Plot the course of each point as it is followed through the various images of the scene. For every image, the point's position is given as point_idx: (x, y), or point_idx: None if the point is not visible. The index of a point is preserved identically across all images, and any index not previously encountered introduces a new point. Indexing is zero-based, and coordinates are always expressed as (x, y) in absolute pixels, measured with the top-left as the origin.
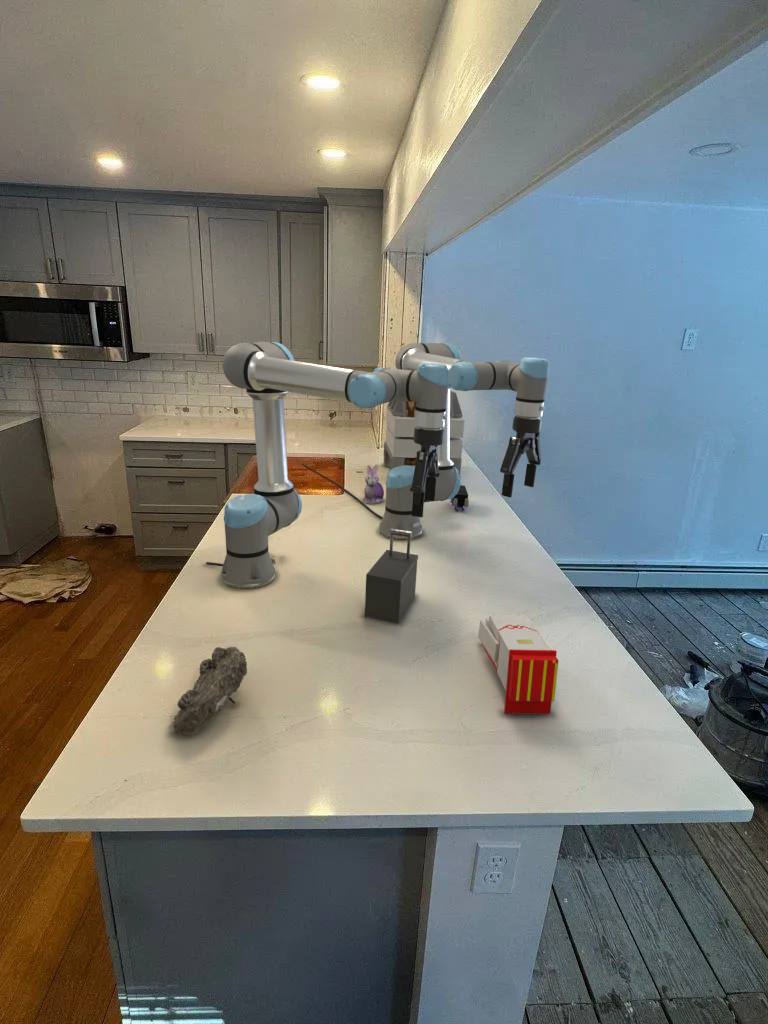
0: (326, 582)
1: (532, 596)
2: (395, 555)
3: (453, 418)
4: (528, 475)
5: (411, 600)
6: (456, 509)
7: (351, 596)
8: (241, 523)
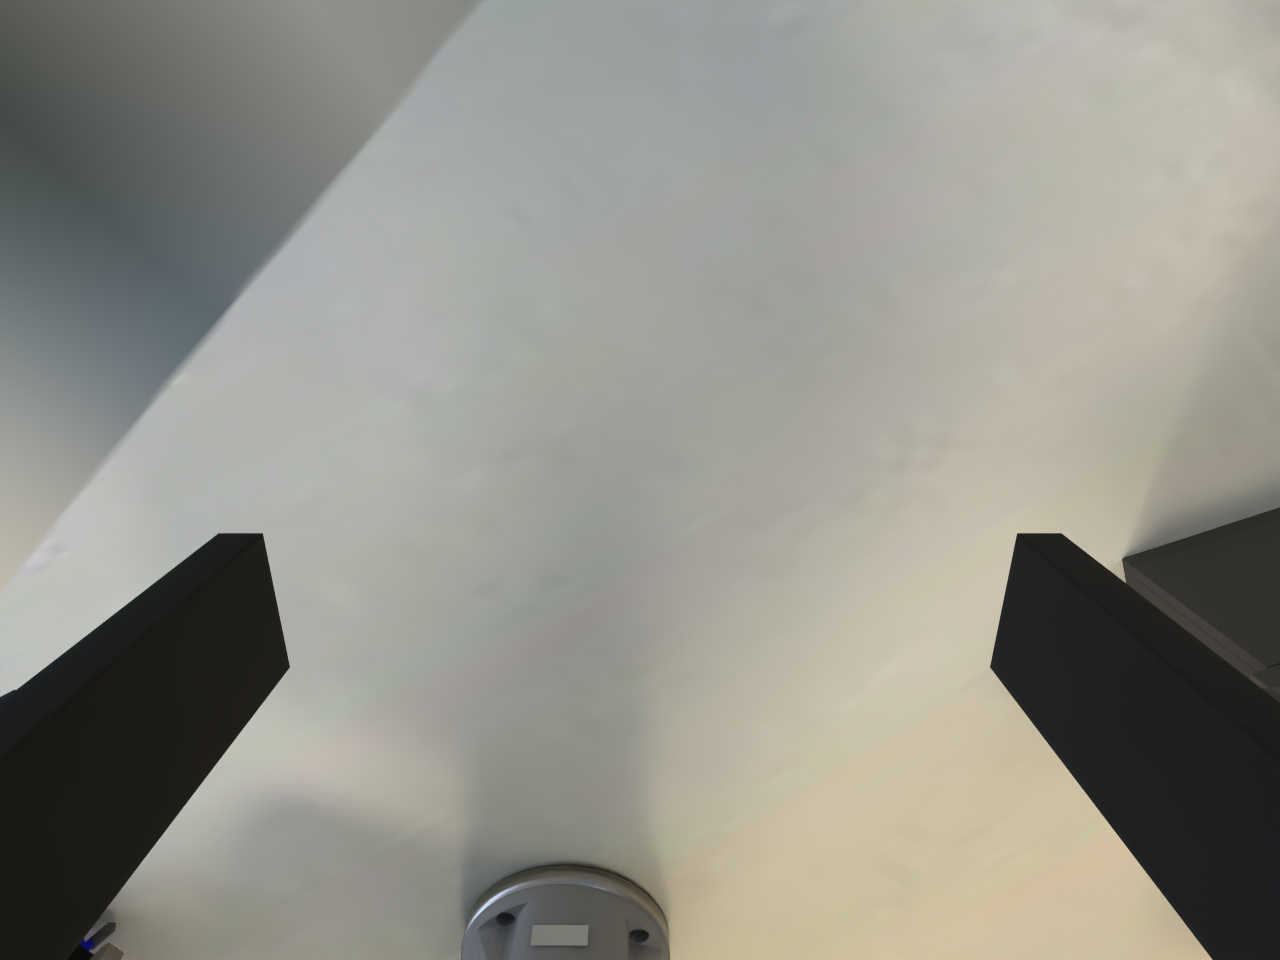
0: None
1: (759, 101)
2: None
3: None
4: (171, 747)
5: (1191, 539)
6: (106, 930)
7: None
8: None
